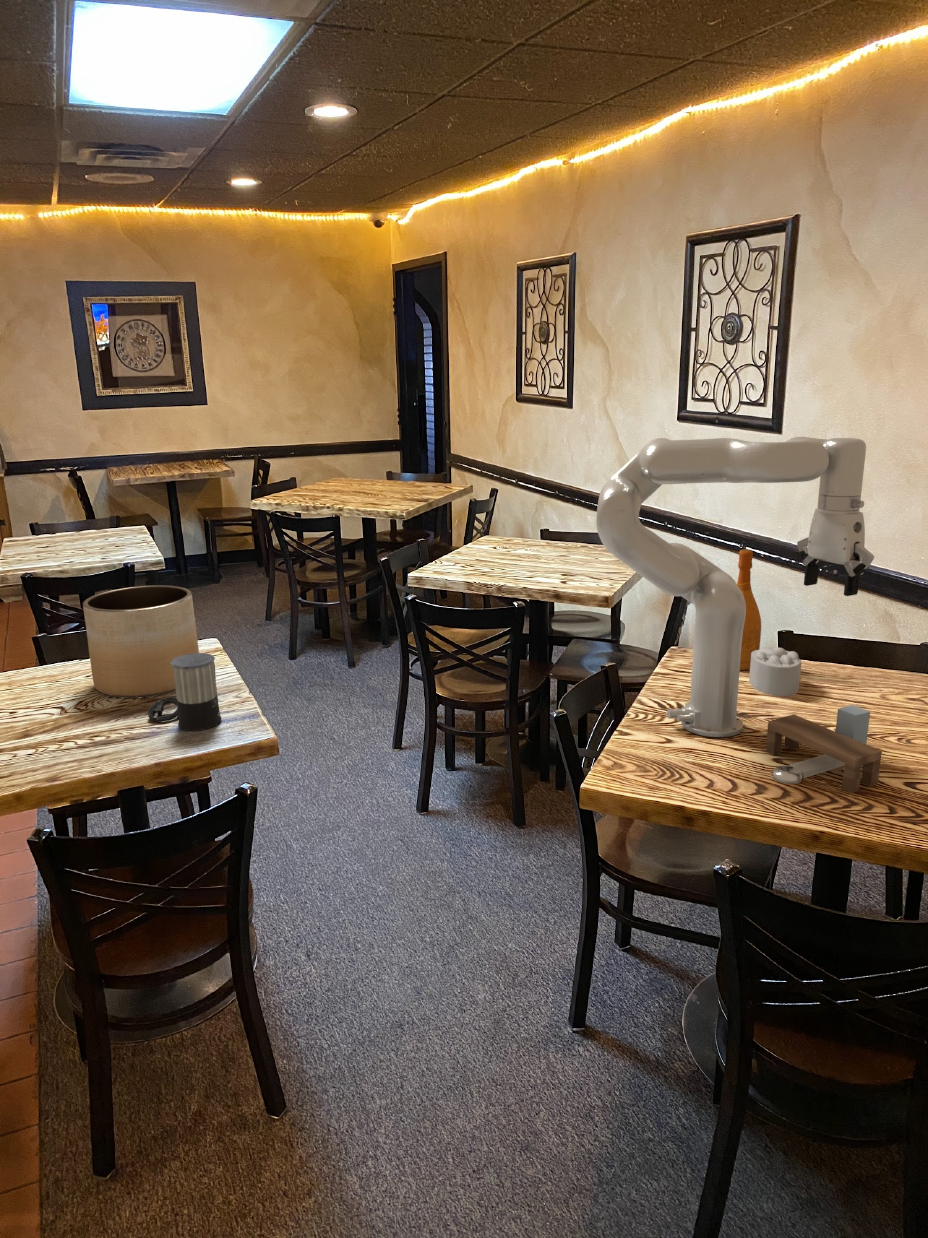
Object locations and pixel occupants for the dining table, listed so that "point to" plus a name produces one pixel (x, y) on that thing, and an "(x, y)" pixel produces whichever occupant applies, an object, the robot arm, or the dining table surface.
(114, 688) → the beige ceramic crock
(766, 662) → the lumpy-topped squat cylinder
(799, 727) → the stand
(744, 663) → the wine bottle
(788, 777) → the token
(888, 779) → the dining table surface
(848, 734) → the grey block
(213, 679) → the milk frother
